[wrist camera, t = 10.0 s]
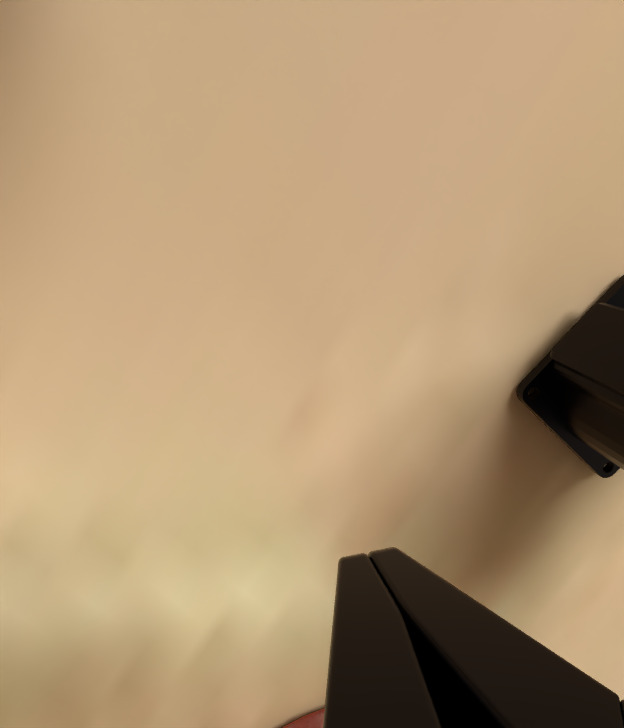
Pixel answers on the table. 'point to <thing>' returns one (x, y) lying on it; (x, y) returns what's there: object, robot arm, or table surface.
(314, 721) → the flower pot
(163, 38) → the table surface
